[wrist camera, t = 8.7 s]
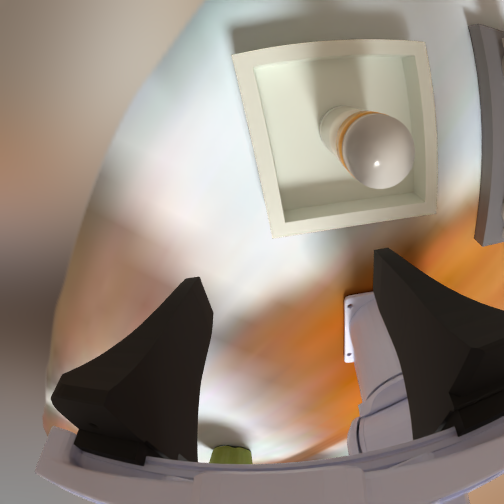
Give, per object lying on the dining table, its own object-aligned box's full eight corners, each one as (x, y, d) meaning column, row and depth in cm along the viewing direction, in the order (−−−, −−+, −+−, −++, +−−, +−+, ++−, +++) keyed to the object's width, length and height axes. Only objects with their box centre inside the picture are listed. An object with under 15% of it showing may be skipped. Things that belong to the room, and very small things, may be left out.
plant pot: (193, 450, 48) (184, 497, 38) (217, 435, 42) (209, 493, 33) (244, 462, 50) (241, 508, 41) (275, 449, 45) (274, 502, 35)
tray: (421, 200, 20) (436, 213, 18) (272, 221, 22) (272, 238, 20) (407, 45, 14) (424, 41, 12) (236, 59, 16) (231, 55, 14)
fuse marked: (371, 152, 18) (416, 184, 12) (323, 159, 19) (349, 194, 13) (364, 102, 16) (411, 111, 10) (313, 108, 17) (338, 117, 11)
